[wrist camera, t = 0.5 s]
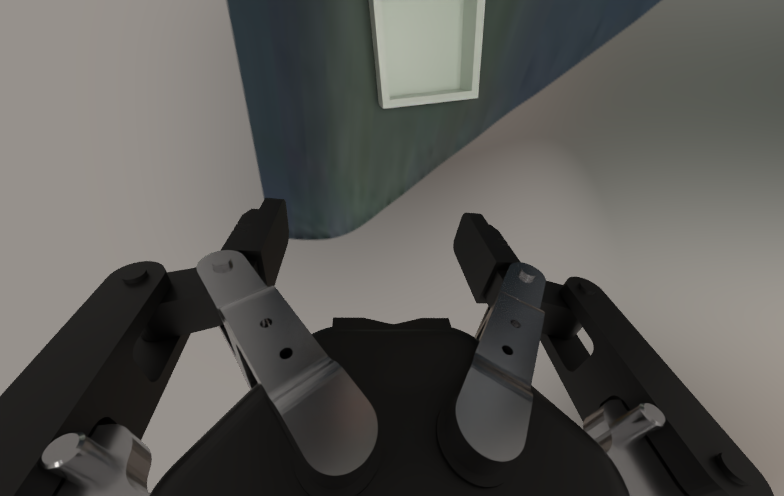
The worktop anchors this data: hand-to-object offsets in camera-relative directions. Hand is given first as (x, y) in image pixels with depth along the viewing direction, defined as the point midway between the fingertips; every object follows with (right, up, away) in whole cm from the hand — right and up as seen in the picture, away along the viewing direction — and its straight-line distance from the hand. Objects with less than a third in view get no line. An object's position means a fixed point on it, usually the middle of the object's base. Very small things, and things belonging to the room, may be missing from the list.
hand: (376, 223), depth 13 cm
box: (+4, +22, +19) cm, 30 cm away
